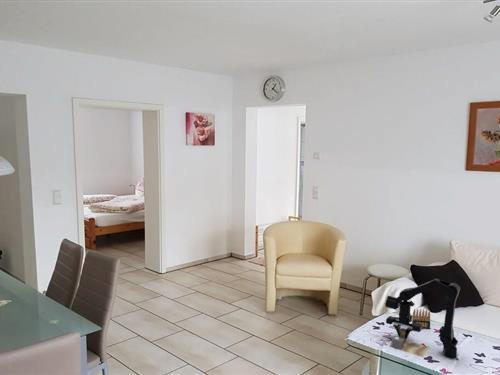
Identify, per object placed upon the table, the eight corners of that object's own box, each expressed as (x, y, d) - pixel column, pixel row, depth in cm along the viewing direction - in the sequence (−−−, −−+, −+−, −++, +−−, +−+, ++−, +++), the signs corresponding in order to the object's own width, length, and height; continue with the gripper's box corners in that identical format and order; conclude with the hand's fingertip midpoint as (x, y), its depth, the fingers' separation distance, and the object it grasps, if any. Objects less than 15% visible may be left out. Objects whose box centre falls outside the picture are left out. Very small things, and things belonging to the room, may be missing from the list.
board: (429, 349, 226) (430, 347, 226) (422, 359, 215) (423, 357, 215) (396, 339, 237) (397, 337, 237) (388, 348, 226) (388, 346, 226)
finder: (403, 346, 227) (404, 338, 226) (401, 349, 223) (401, 341, 222) (394, 343, 230) (395, 335, 229) (391, 346, 226) (392, 338, 225)
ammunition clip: (429, 328, 255) (430, 309, 254) (430, 329, 253) (431, 310, 252) (411, 326, 256) (412, 308, 255) (412, 328, 255) (413, 309, 254)
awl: (406, 342, 232) (407, 330, 231) (401, 342, 231) (402, 330, 230) (403, 340, 235) (404, 328, 234) (398, 340, 234) (399, 328, 233)
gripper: (425, 311, 232) (424, 338, 233) (392, 303, 243) (391, 329, 245) (420, 317, 223) (418, 345, 225) (386, 309, 235) (384, 335, 236)
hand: (402, 338), depth 233 cm, fingers open, 3 cm apart
